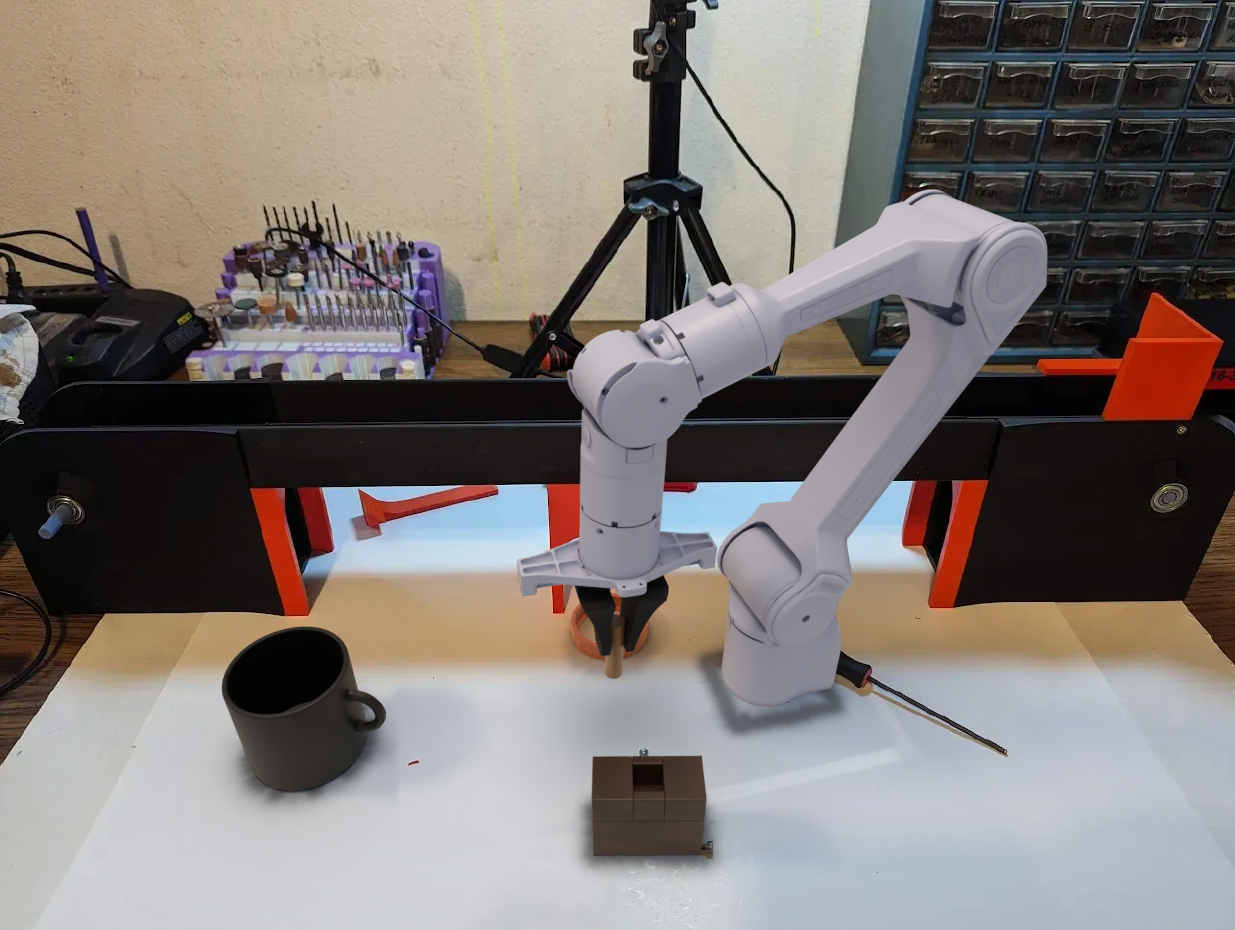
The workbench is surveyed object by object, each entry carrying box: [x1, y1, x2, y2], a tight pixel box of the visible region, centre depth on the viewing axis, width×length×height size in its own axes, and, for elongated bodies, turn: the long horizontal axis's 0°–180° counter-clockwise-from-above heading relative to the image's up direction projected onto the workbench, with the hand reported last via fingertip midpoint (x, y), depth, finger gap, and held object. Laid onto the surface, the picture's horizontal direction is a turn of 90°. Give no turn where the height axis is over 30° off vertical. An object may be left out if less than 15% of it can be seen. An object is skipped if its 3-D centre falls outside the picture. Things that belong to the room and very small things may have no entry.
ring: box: [570, 592, 649, 662], centre depth 77 cm, size 7×7×3 cm
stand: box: [591, 755, 708, 856], centre depth 59 cm, size 8×4×7 cm, turn 90°
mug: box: [221, 625, 387, 791], centre depth 65 cm, size 9×12×9 cm
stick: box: [604, 614, 625, 680], centre depth 63 cm, size 1×1×6 cm
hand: (614, 644), depth 63 cm, fingers closed on stick, 1 cm apart
